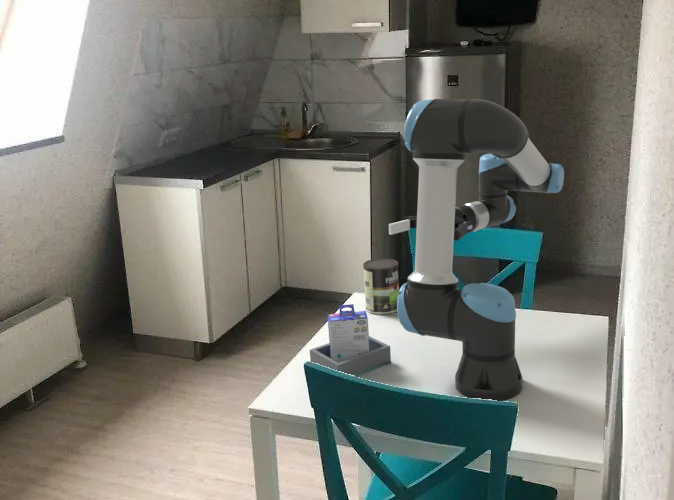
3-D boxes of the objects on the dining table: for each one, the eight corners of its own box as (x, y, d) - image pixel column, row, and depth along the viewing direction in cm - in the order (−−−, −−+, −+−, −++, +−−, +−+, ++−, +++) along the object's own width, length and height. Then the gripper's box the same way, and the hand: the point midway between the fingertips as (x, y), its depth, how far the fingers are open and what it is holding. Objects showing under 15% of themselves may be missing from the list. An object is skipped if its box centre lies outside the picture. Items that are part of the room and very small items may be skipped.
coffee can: (406, 305, 221) (405, 260, 216) (387, 317, 213) (385, 271, 209) (378, 299, 227) (376, 256, 223) (358, 310, 219) (356, 265, 215)
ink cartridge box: (368, 354, 187) (366, 301, 183) (371, 364, 182) (368, 309, 178) (330, 357, 187) (326, 304, 183) (331, 367, 182) (327, 312, 178)
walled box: (390, 362, 184) (390, 346, 183) (338, 382, 175) (337, 365, 174) (361, 347, 194) (360, 332, 192) (310, 366, 185) (309, 349, 184)
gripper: (502, 240, 188) (441, 259, 177) (435, 223, 208) (376, 239, 196) (503, 212, 186) (440, 229, 174) (435, 197, 206) (375, 211, 194)
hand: (406, 234), depth 185 cm, fingers open, 13 cm apart
